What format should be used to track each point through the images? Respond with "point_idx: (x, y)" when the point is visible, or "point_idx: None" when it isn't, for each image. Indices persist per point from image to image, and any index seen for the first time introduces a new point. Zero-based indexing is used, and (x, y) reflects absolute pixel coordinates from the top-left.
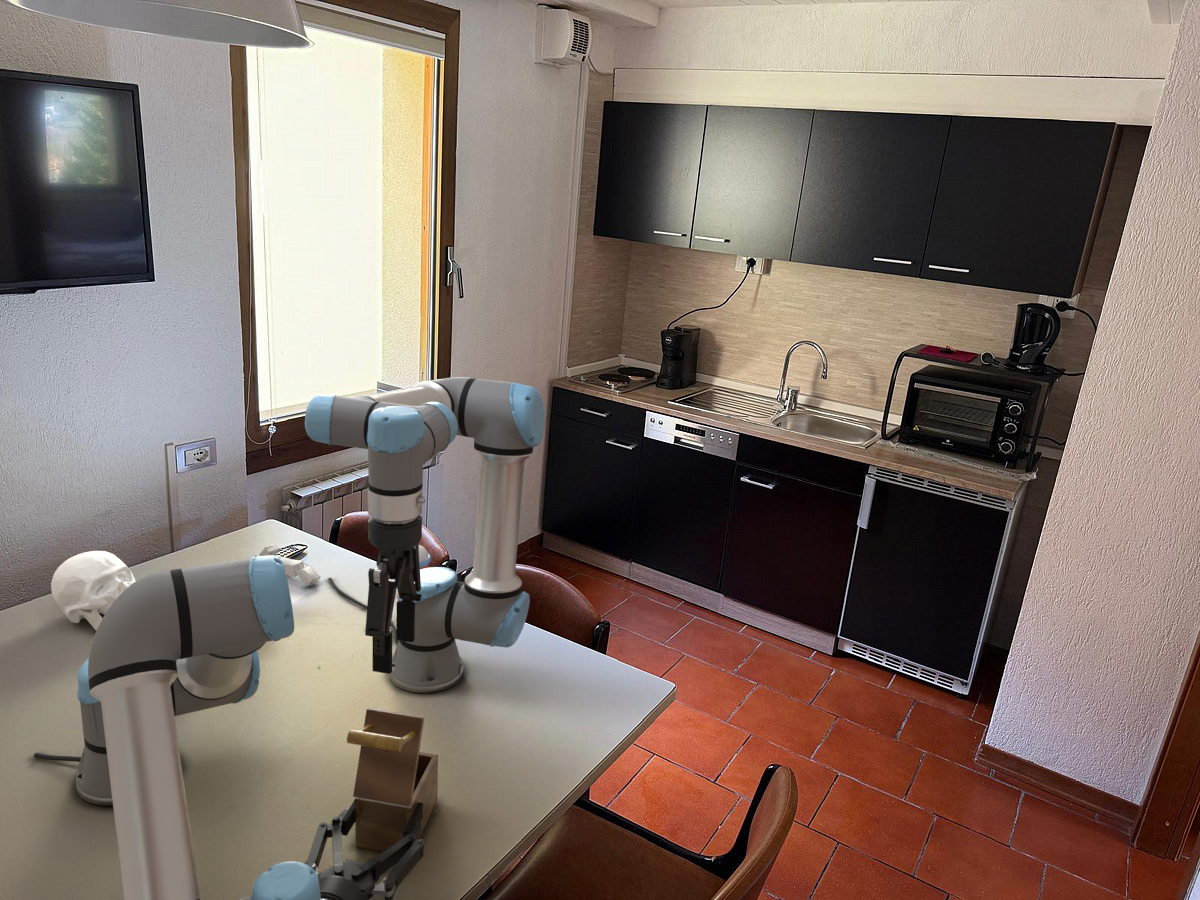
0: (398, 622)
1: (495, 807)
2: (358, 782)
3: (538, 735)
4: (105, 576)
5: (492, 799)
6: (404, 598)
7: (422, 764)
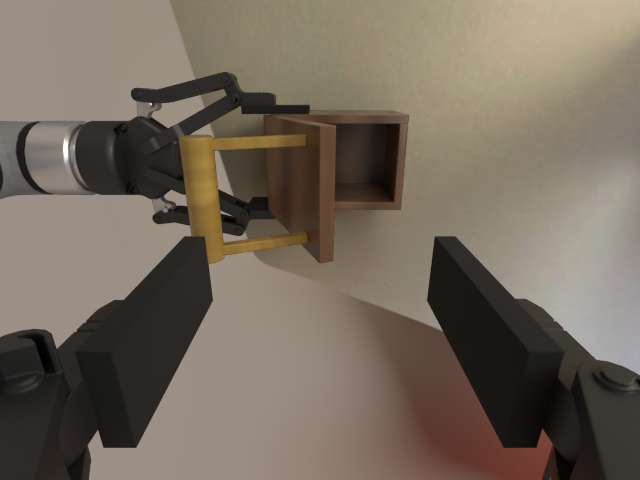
0: (463, 285)
1: (390, 259)
2: (270, 122)
3: (542, 277)
4: None
5: (404, 252)
6: (565, 406)
7: (392, 182)
